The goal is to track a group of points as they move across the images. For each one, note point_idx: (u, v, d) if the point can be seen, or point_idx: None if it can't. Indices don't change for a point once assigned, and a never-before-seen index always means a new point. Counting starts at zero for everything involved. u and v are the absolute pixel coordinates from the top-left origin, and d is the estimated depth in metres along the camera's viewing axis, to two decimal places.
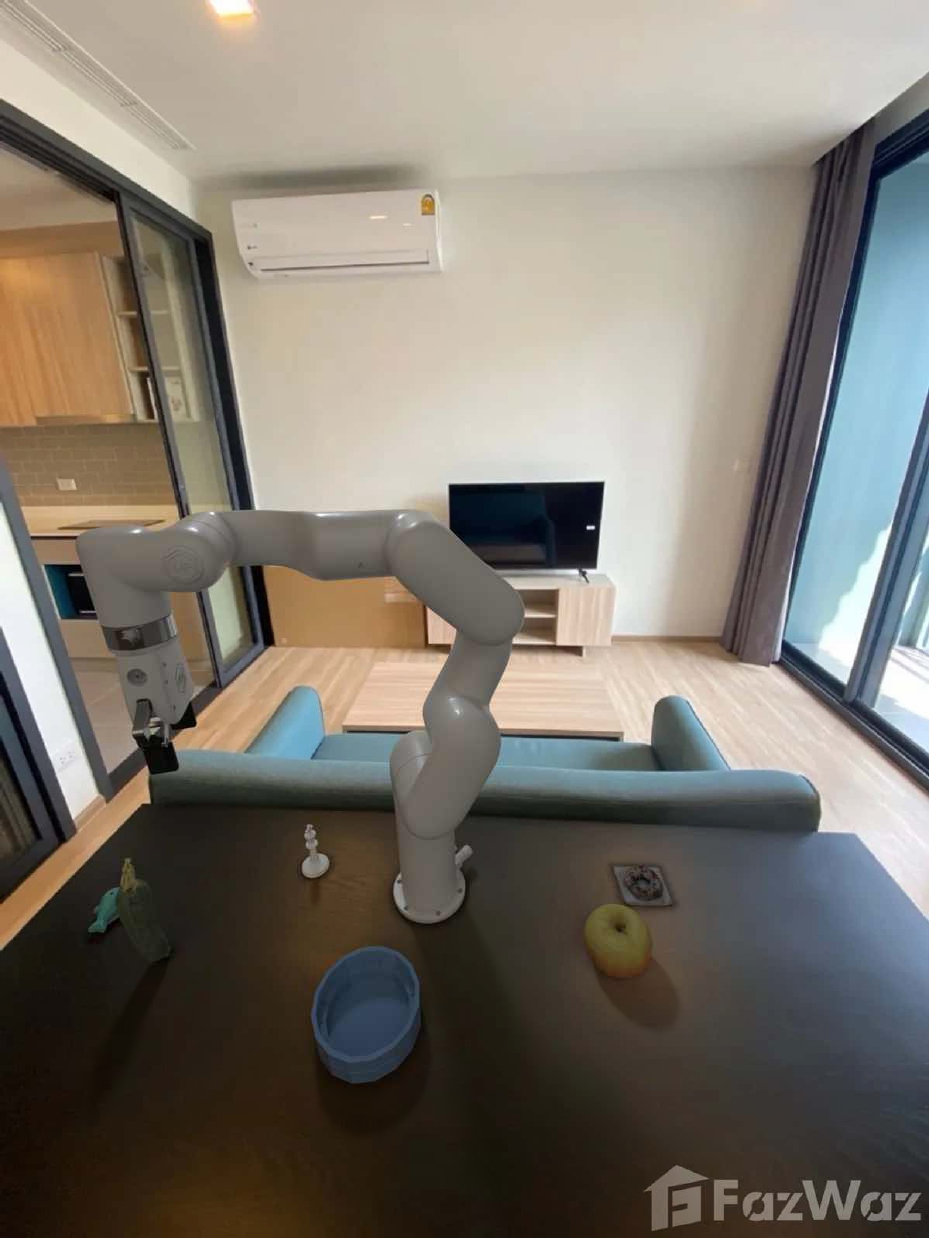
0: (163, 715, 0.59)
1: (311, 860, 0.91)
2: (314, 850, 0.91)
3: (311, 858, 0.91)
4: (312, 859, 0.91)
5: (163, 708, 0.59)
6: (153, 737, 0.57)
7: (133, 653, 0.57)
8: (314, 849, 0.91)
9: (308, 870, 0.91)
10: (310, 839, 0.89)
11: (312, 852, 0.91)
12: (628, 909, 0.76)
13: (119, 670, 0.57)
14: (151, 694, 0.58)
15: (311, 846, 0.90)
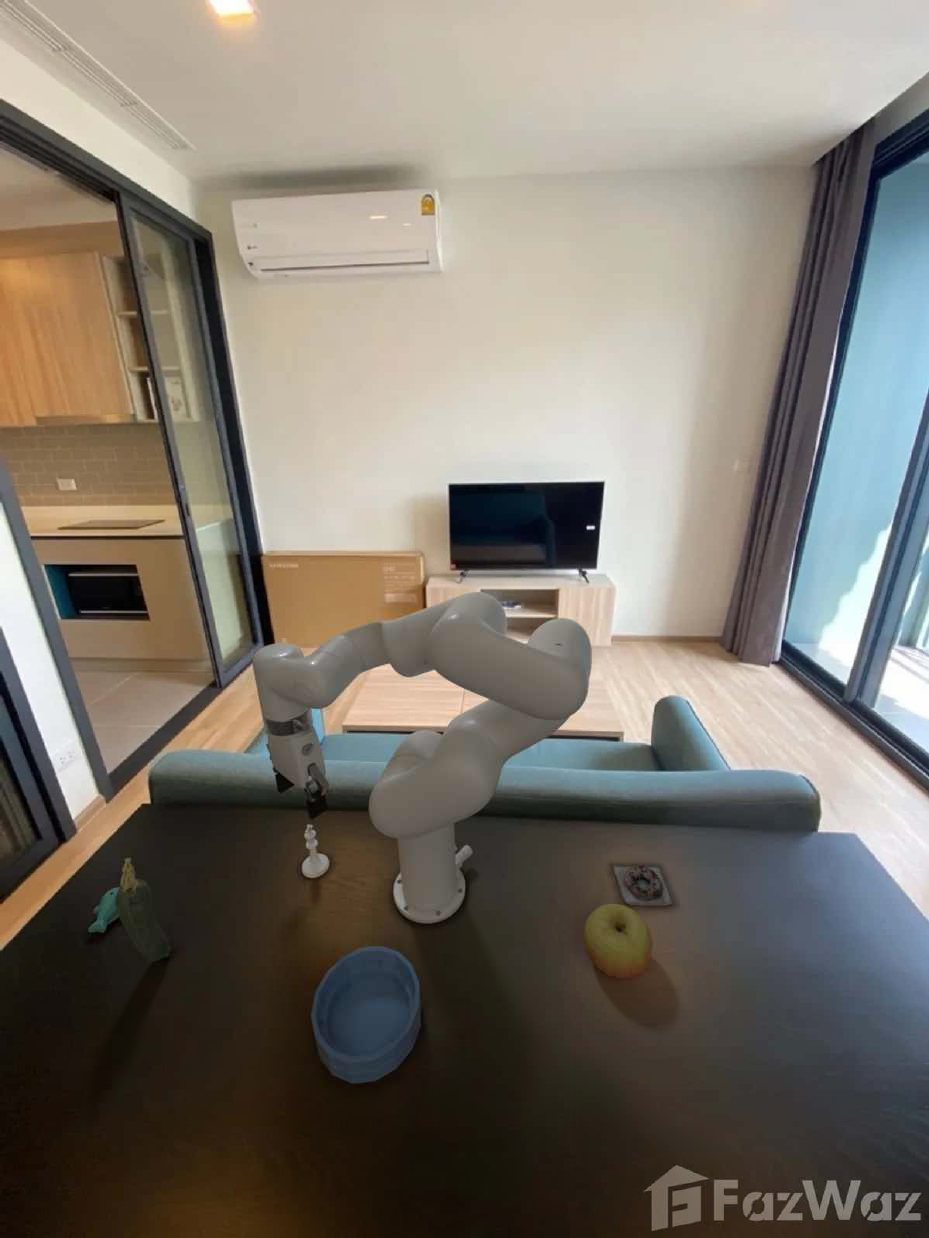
0: (321, 771, 0.82)
1: (311, 860, 0.91)
2: (314, 850, 0.91)
3: (311, 858, 0.91)
4: (312, 859, 0.91)
5: (321, 766, 0.82)
6: None
7: (302, 733, 0.79)
8: (314, 849, 0.91)
9: (308, 870, 0.91)
10: (310, 839, 0.89)
11: (312, 852, 0.91)
12: (628, 909, 0.76)
13: (296, 748, 0.78)
14: (316, 758, 0.81)
15: (311, 846, 0.90)
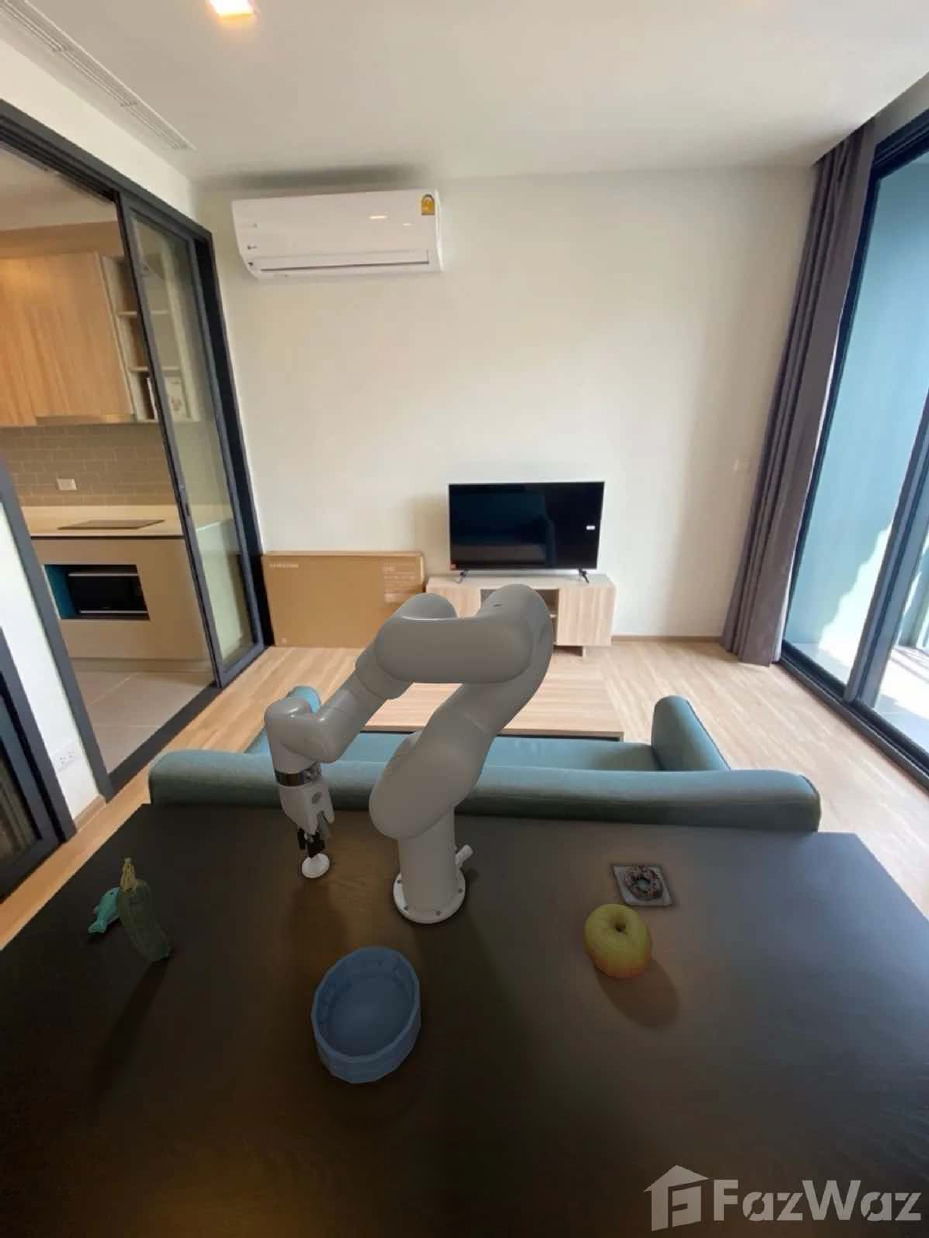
0: (330, 817, 0.86)
1: (311, 860, 0.91)
2: None
3: (311, 858, 0.91)
4: (312, 859, 0.91)
5: (330, 812, 0.86)
6: None
7: (311, 783, 0.82)
8: None
9: (308, 870, 0.91)
10: None
11: None
12: (628, 909, 0.76)
13: (305, 798, 0.82)
14: (324, 806, 0.84)
15: None
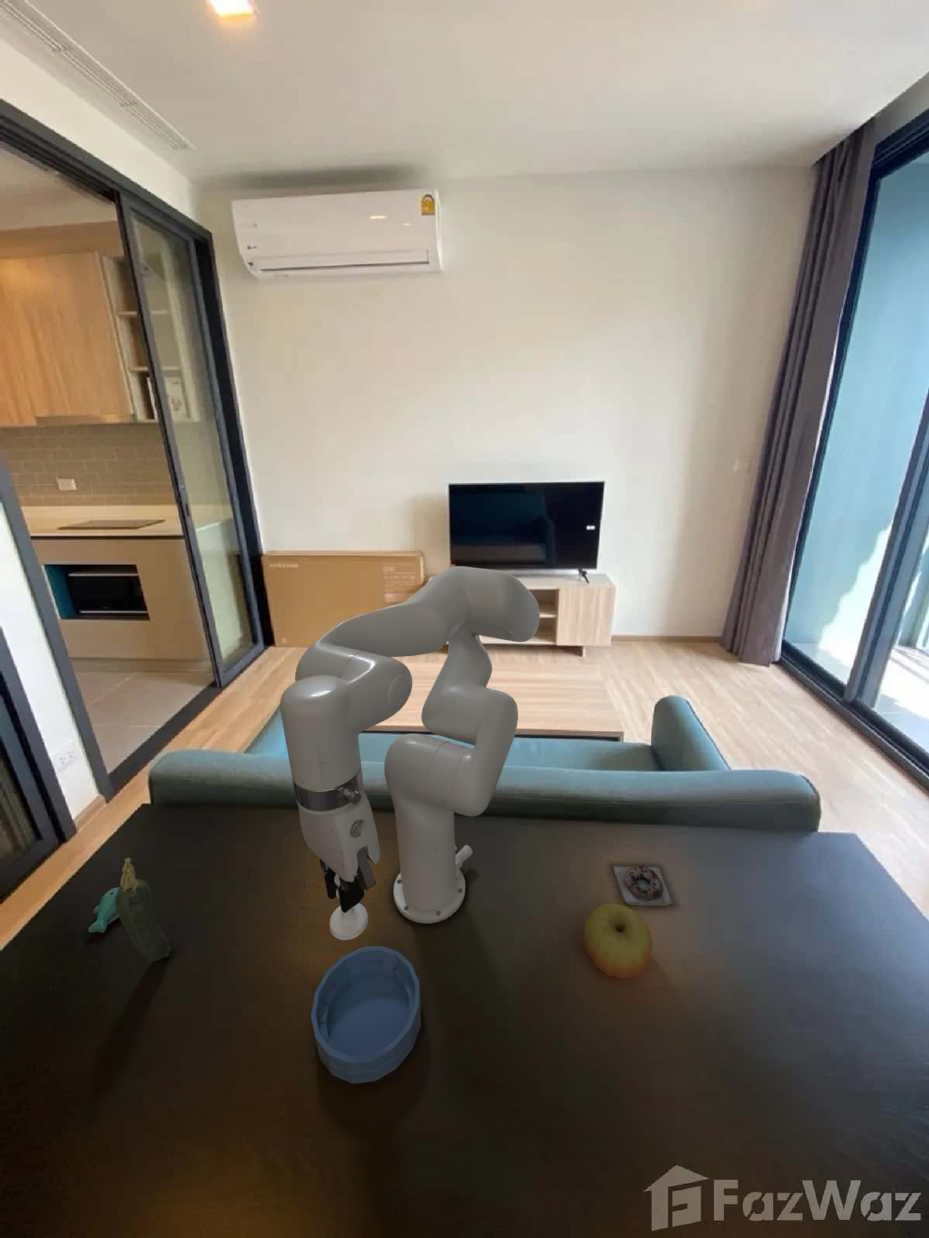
0: (375, 856, 0.58)
1: (343, 914, 0.64)
2: None
3: None
4: None
5: (375, 849, 0.58)
6: None
7: (350, 806, 0.55)
8: None
9: (339, 929, 0.63)
10: None
11: None
12: (628, 909, 0.76)
13: (341, 829, 0.54)
14: (368, 839, 0.56)
15: None
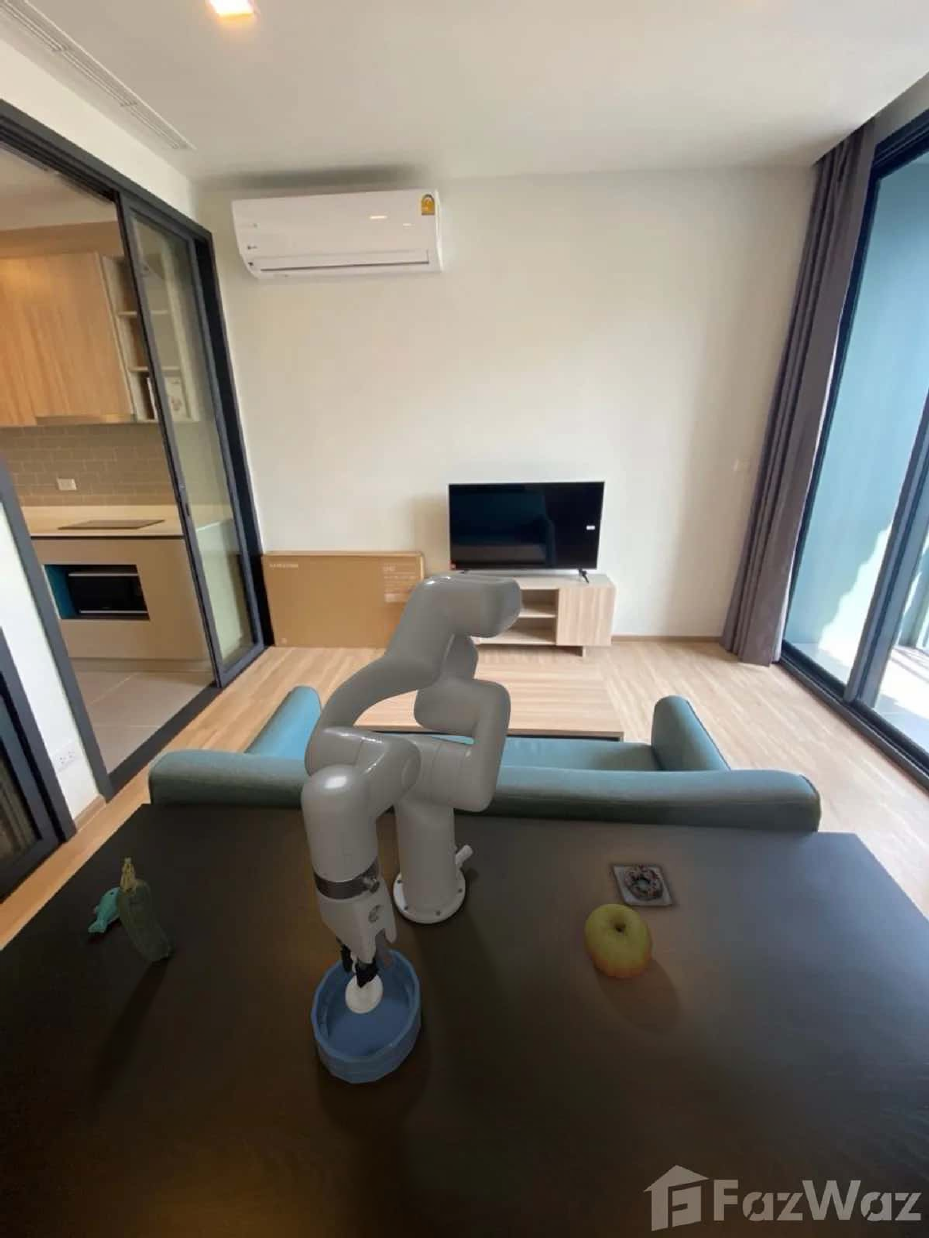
0: (392, 936, 0.59)
1: (359, 987, 0.65)
2: None
3: None
4: None
5: (392, 929, 0.59)
6: None
7: (368, 892, 0.56)
8: None
9: (356, 1002, 0.64)
10: None
11: None
12: (628, 909, 0.76)
13: (360, 916, 0.55)
14: (386, 922, 0.58)
15: None
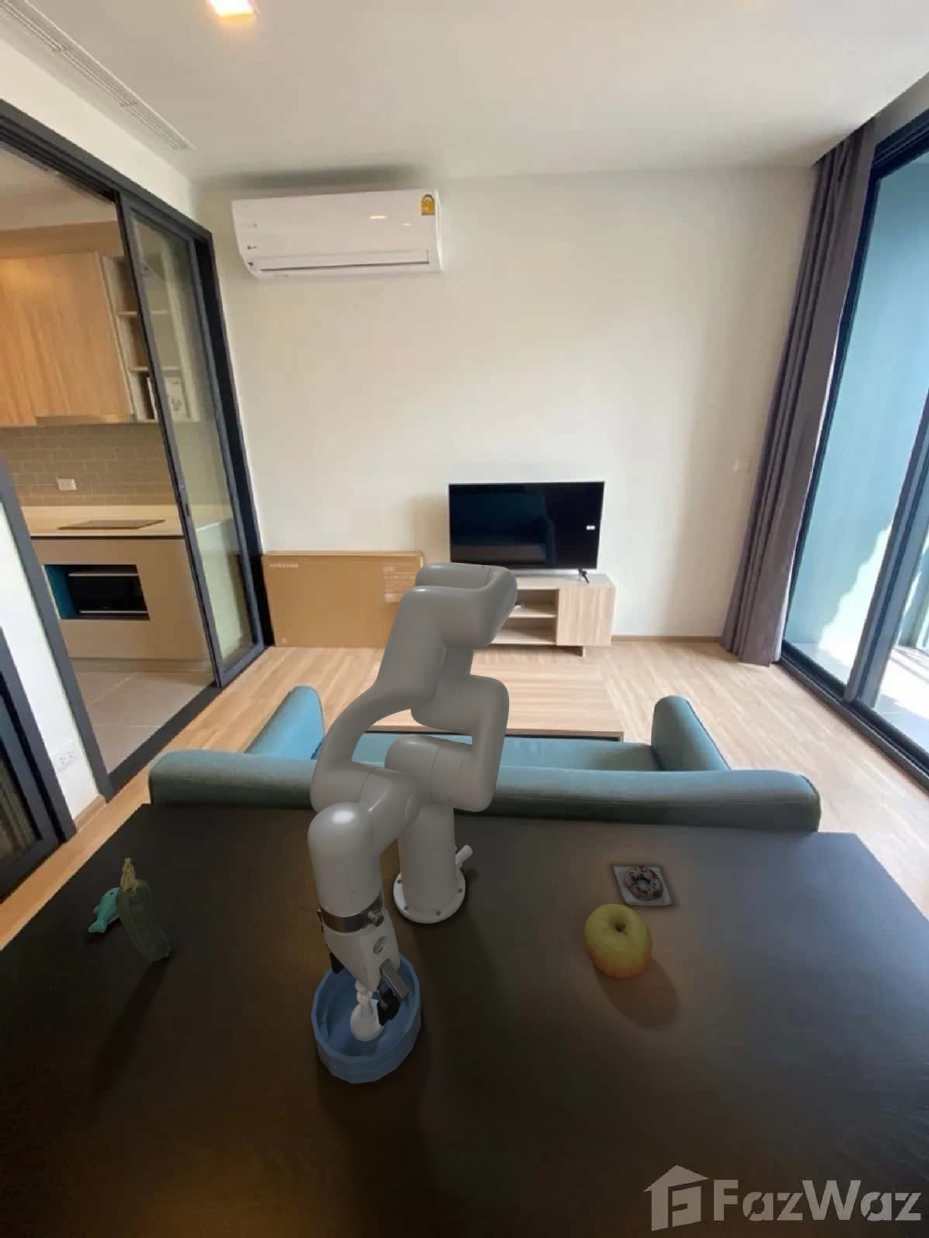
0: (395, 964, 0.61)
1: (363, 1015, 0.67)
2: (368, 1003, 0.67)
3: (363, 1013, 0.67)
4: (365, 1014, 0.67)
5: (396, 958, 0.61)
6: None
7: (372, 925, 0.58)
8: (368, 1001, 0.67)
9: (360, 1031, 0.67)
10: (364, 991, 0.65)
11: (365, 1006, 0.66)
12: (628, 909, 0.76)
13: (365, 948, 0.57)
14: (390, 952, 0.60)
15: (364, 999, 0.66)
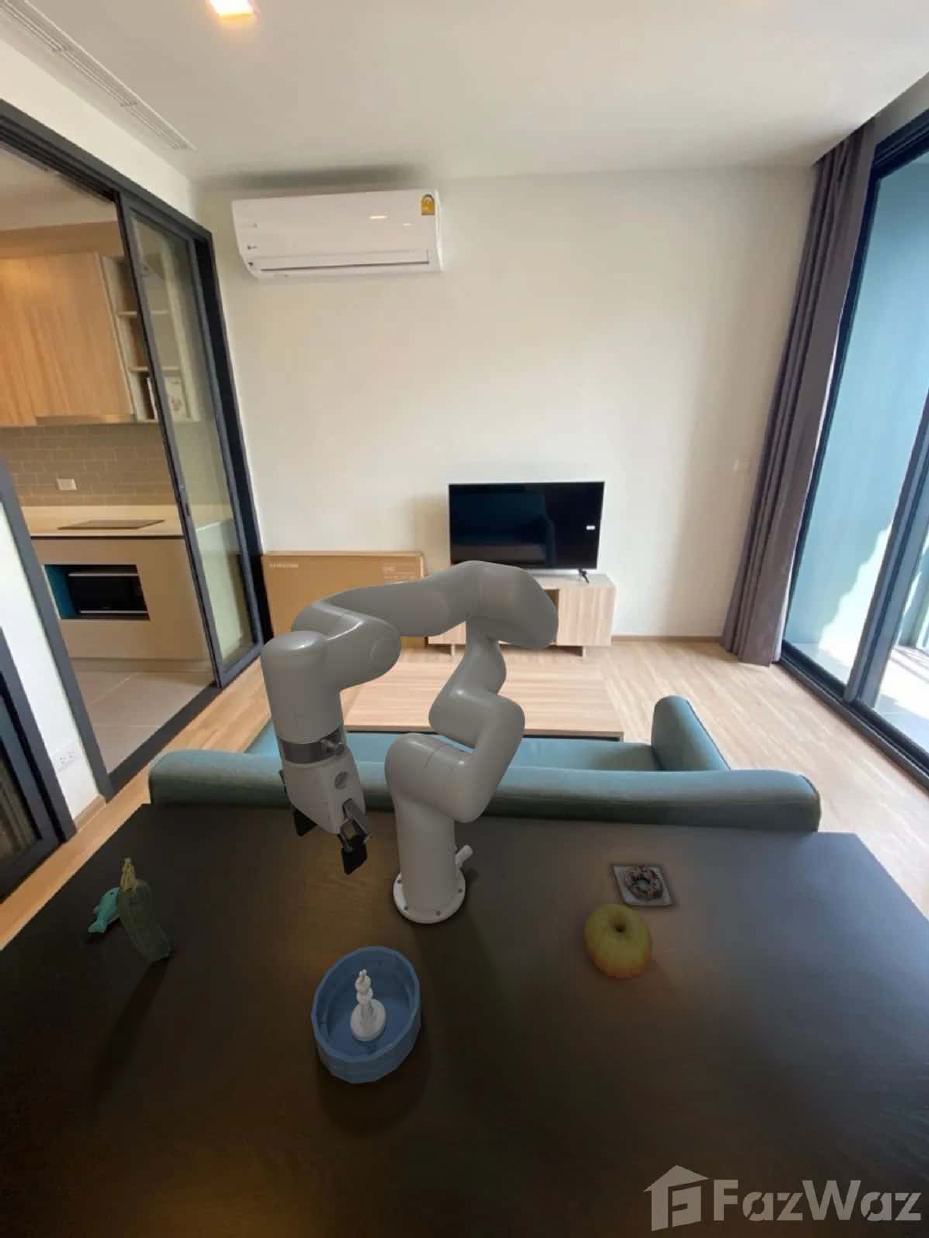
0: (360, 808, 0.59)
1: (363, 1015, 0.67)
2: (368, 1003, 0.67)
3: (363, 1013, 0.67)
4: (365, 1014, 0.67)
5: (360, 801, 0.59)
6: None
7: (333, 758, 0.56)
8: (368, 1001, 0.67)
9: (360, 1031, 0.67)
10: (364, 991, 0.65)
11: (365, 1006, 0.66)
12: (628, 909, 0.76)
13: (326, 780, 0.55)
14: (353, 792, 0.57)
15: (364, 999, 0.66)
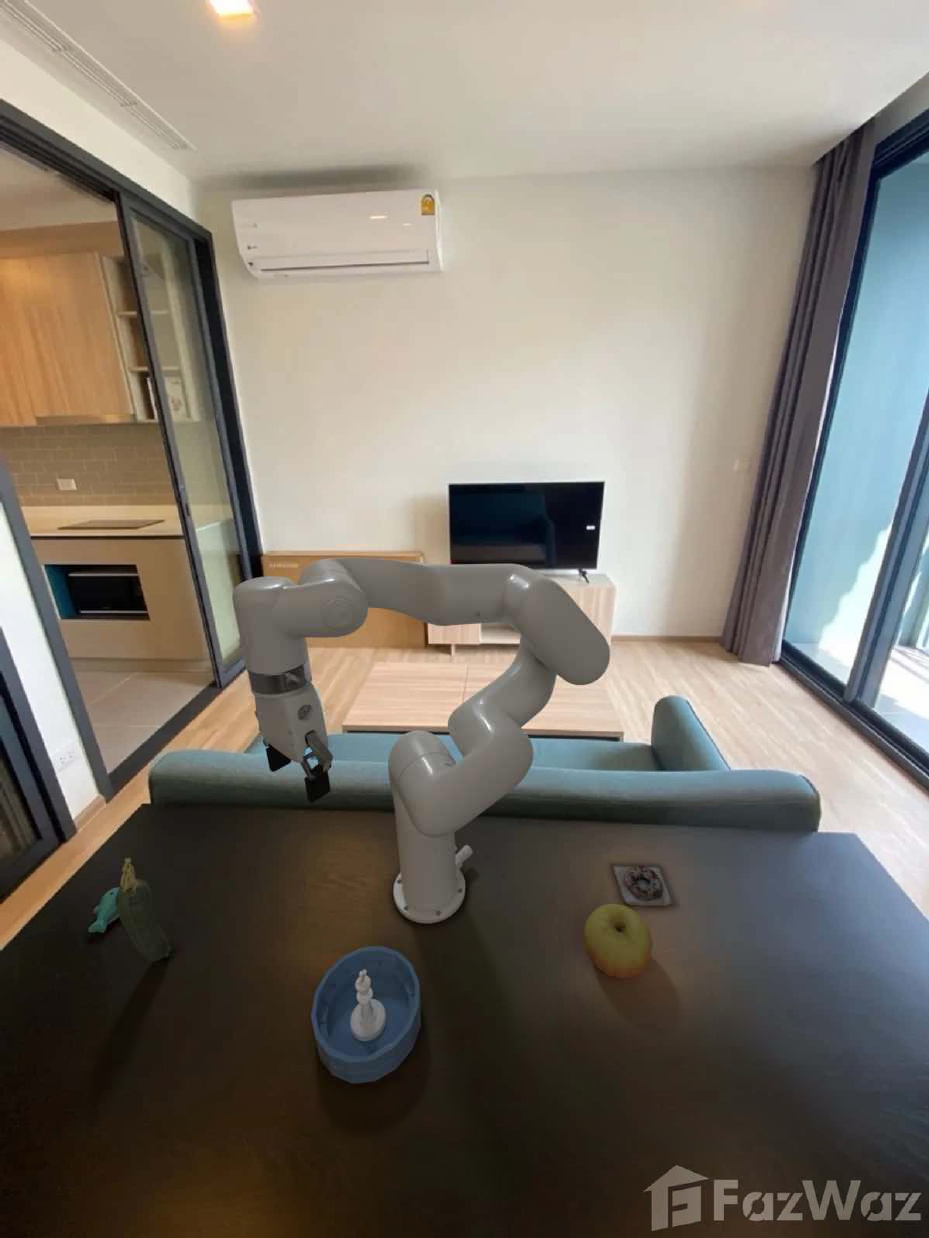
0: (323, 742, 0.65)
1: (363, 1015, 0.67)
2: (368, 1003, 0.67)
3: (363, 1013, 0.67)
4: (365, 1014, 0.67)
5: (323, 735, 0.65)
6: None
7: (297, 692, 0.62)
8: (368, 1001, 0.67)
9: (360, 1031, 0.67)
10: (364, 991, 0.65)
11: (365, 1006, 0.66)
12: (628, 909, 0.76)
13: (289, 710, 0.61)
14: (316, 725, 0.64)
15: (364, 999, 0.66)
